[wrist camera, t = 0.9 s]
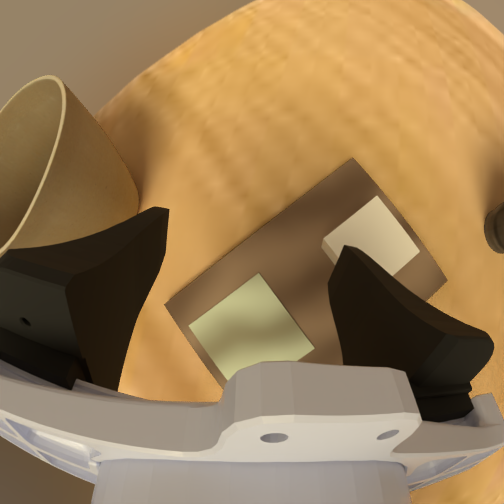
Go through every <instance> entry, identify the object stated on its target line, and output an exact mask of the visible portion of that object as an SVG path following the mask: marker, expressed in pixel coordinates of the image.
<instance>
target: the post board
mask: <svg viewBox="0 0 504 504" xmlns="http://www.w3.org/2000/svg"><path fill="white" fill-rule="evenodd" d="M376 196H378V197H379V198H380V200H381V201H382V202H383V203H384V205H385V206H386V207H387V208H388V210H389V211H390V212H391V213H392V215H393V216H394V217H395V218H396V220H397V221H398V222H399V224H400V225H401V226H402V227H403V229H404V230H405V231H406V233H407V234H408V235H409V237H410V238H411V240H412V241H413V242H414V244H415V245H416V246H417V248H418V249H419V251H420V252H419V253H418V254H417V255H416V256H415V257H413V258H412V259H411V260H410V261H409V262H408V263H407V264H406V265H405V266H403V267H402V268H401V269H400V270H399V271H398V272H397V273H395V274H394V275H393V277H394V278H395V279H396V280H397V281H399V282H400V283H401V284H402V285H404V286H405V287H406V288H407V289H409V290H410V291H411V292H413V293H414V294H415V295H417V296H418V297H420V298H421V299H422V300H424V301H425V302H426V301H427V300H428V299H429V298H430V297H431V296H432V295H433V294H434V293H435V292H436V291H437V290H438V289H439V288H440V287H441V286H442V285H443V284H444V283H445V282H446V281H447V279H446V277H445V275H444V274H443V272H442V271H441V269H440V268H439V266H438V265H437V263H436V262H435V260H434V259H433V257H432V256H431V255H430V253H429V252H428V250H427V249H426V247H425V246H424V245H423V243H422V242H421V240H420V239H419V238H418V236H417V235H416V234H415V232H414V231H413V229H412V228H411V227H410V225H409V224H408V223H407V222H406V220H405V219H404V218H403V216H402V215H401V214H400V213H399V211H398V210H397V209H396V207H395V206H394V205H393V204H392V202H391V201H390V200H389V199H388V198H387V196H386V195H385V194H384V193H383V191H382V190H381V189H380V188H379V187H378V186H377V184H376V183H375V182H374V181H373V180H372V179H371V177H370V176H369V175H368V174H367V173H366V172H365V171H364V169H363V168H362V167H361V166H360V165H359V164H358V163H357V162H356V161H355V159H354V158H352V159H350V160H349V161H348V162H346V163H345V164H344V165H342V166H341V167H340V168H338V169H337V170H336V171H335V172H333V173H332V174H331V175H329V176H328V177H327V178H325V179H324V180H323V181H321V182H320V183H319V184H317V185H316V186H315V187H314V188H312V189H311V190H310V191H308V192H307V193H306V194H304V195H303V196H302V197H301V198H299V199H298V200H297V201H295V202H294V203H293V204H291V205H290V206H289V207H288V208H286V209H285V210H284V211H282V212H281V213H280V214H278V215H277V216H276V217H275V218H273V219H272V220H271V221H269V222H268V223H267V224H266V225H264V226H263V227H262V228H260V229H259V230H258V231H257V232H255V233H254V234H253V235H251V236H250V237H249V238H248V239H246V240H245V241H244V242H242V243H241V244H240V245H239V246H237V247H236V248H235V249H234V250H232V251H231V252H230V253H228V254H227V255H226V256H225V257H223V258H222V259H221V260H220V261H218V262H217V263H216V264H214V265H213V266H212V267H211V268H209V269H208V270H207V271H206V272H204V273H203V274H202V275H201V276H199V277H198V278H197V279H195V280H194V281H193V282H192V283H190V284H189V285H188V286H187V287H185V288H184V289H183V290H182V291H180V292H179V293H178V294H177V295H175V296H174V297H173V298H172V299H170V300H169V301H168V302H167V303H165V304H164V305H165V307H166V308H167V310H168V312H169V313H170V315H171V316H172V318H173V319H174V321H175V322H176V324H177V325H178V327H179V328H180V330H181V331H182V333H183V334H184V336H185V337H186V339H187V340H188V342H189V343H190V345H191V346H192V347H193V349H194V350H195V352H196V353H197V355H198V356H199V357H200V359H201V360H202V362H203V363H204V364H205V366H206V367H207V369H208V370H209V371H210V373H211V374H212V375H213V377H214V378H215V379H216V381H217V382H218V383H219V385H220V386H221V387H222V389H223V390H224V387H225V384H226V383H227V382H228V380H229V379H230V378H231V377H232V376H233V375H234V374H235V373H236V371H238V370H240V369H243V368H246V367H248V366H251V365H254V364H257V363H259V362H262V361H287V360H288V361H298V362H308V363H319V364H332V365H343V358H342V351H341V346H340V342H339V338H338V334H337V330H336V326H335V322H334V319H333V315H332V311H331V307H330V303H329V295H328V284H327V283H328V281H329V279H330V276H331V274H332V272H333V270H334V267H335V265H334V263H333V262H332V261H331V259H330V258H329V257H328V255H327V254H326V253H325V252H324V250H323V249H322V248H321V246H322V242H323V238H325V237H326V236H327V235H328V234H330V233H331V232H332V231H333V230H335V229H336V228H337V227H338V226H340V225H341V224H342V223H343V222H345V221H346V220H347V219H348V218H350V217H351V216H352V215H353V214H355V213H356V212H357V211H358V210H360V209H361V208H362V207H363V206H365V205H366V204H367V203H368V202H370V201H371V200H372V199H373V198H374V197H376Z"/></svg>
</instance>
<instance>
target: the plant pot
mask: <svg viewBox="0 0 504 504" xmlns="http://www.w3.org/2000/svg"><path fill="white" fill-rule="evenodd" d="M138 207H139V194H138V190H137V187H136V185H135V183H134V181H133V179H132V177H131V175H130V173H129V171H128V169H127V167H126V165H125V163H124V162H123V160H122V158H121V157H120V155H119V153H118V152H117V150H116V149H115V147H114V145H113V144H112V142H111V141H110V139H109V138H108V137H107V135H106V134H105V132H104V131H103V130H102V128H101V127H100V126H99V124H98V123H97V122H96V120H95V119H94V118H93V116H92V115H91V114H90V113H89V112H88V110H87V109H86V108H85V107H84V106H83V104H82V103H81V102H80V101H79V100H78V99H77V98H76V96H75V95H74V94H73V93H72V92H71V91H70V89H69V88H68V87H67V86H66V85H65V84H64V83H63V82H62V81H61V79H59V78H58V77H57V76H53V75H46V76H42V77H39V78H37V79H35V80H33V81H31V82H29V83H28V84H26V85H25V86H24V87H22V88H21V89H20V90H19V91H18V92H17V93H16V94H15V95H13V97H12V98H11V99H10V100H9V101H8V102H7V103H6V104H5V106H4V107H3V108H2V109H1V111H0V258H1V257H2V255H3V254H4V253H5V252H6V251H7V250H8V249H18V248H32V247H41V246H47V245H53V244H59V243H63V242H67V241H71V240H75V239H79V238H83V237H86V236H89V235H92V234H95V233H98V232H100V231H103V230H105V229H108V228H110V227H112V226H114V225H117V224H119V223H121V222H123V221H125V220H127V219H129V218H131V217H133V216H135V215H137V212H138Z"/></svg>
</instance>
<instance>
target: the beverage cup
mask: <svg viewBox="0 0 504 504" xmlns="http://www.w3.org/2000/svg"><path fill="white" fill-rule="evenodd" d="M484 232H485V237H486V240H487V242H488V244H489V246H490V247H491V248H492V249H493V251H495V252H497V253H502V254H503V253H504V202H503V203H502V204H500V205H499V206H498V207H497V208H496V209H495V210H493V211H492V212H490V213H489V214H488V216H487V218H486V220H485V225H484Z"/></svg>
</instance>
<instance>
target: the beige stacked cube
mask: <svg viewBox="0 0 504 504" xmlns="http://www.w3.org/2000/svg"><path fill="white" fill-rule="evenodd" d="M344 245H348V246H353V247H357V248H359V249H360V250H362V251H363V252H364V253H366V254H367V255H368V256H370V257H371V258H372V259H373V260H374V261H375V262H377V263H378V264H379V265H380V266H381V267H382V268H383V269H385V270H386V271H387V272H388V273H389V274H390V275H392V276H393V275H394V274H395V273H397V272H398V271H399V270H400V269H401V268H402V267H403V266H405V265H406V264H407V263H408V262H409V261H410V260H411V259H412V258H413V257H415V256H416V255H417V254H418V253H419V252H420V251H419V249H418V248H417V246H416V245H415V244H414V242H413V241H412V240H411V238H410V237H409V235H408V234H407V233H406V231H405V230H404V229H403V227H402V226H401V225H400V224H399V222H398V221H397V220H396V218H395V217H394V216H393V215H392V213H391V212H390V211H389V210H388V208H387V207H386V206H385V205H384V203H383V202H382V201H381V200H380V198H379V197H378V196H376V197H374V198H373V199H372V200H371V201H370V202H368V203H367V204H366V205H365V206H363V207H362V208H361V209H360V210H358V211H357V212H356V213H355V214H353V215H352V216H351V217H350V218H348V219H347V220H346V221H345V222H343V223H342V224H341V225H340V226H338V227H337V228H336V229H335V230H333V231H332V232H331V233H330V234H328V235H327V236H326V237H325V238H323V242H322V246H321V248H322V249H323V250H324V252H325V253H326V254H327V255H328V257H329V258H330V259H331V261H332V262H333V263H334V265H336V263H337V260H338V258H339V256H340V253H341V251H342V248H343V246H344Z"/></svg>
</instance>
